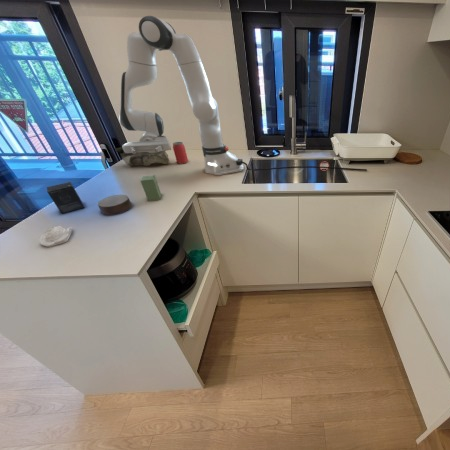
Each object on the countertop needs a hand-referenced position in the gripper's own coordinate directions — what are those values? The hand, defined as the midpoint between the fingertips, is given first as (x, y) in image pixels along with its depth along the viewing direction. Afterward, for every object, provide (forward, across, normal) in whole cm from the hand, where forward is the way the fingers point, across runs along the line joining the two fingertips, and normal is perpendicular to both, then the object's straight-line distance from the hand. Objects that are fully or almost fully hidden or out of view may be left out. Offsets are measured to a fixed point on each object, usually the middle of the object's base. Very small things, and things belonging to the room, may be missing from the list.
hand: (145, 151), depth 112 cm
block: (+12, 0, +18) cm, 22 cm away
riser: (+18, -14, +19) cm, 29 cm away
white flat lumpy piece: (+36, -28, +19) cm, 49 cm away
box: (+12, -32, +19) cm, 39 cm away
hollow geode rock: (-39, -10, +19) cm, 45 cm away
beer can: (-36, +10, +18) cm, 42 cm away
